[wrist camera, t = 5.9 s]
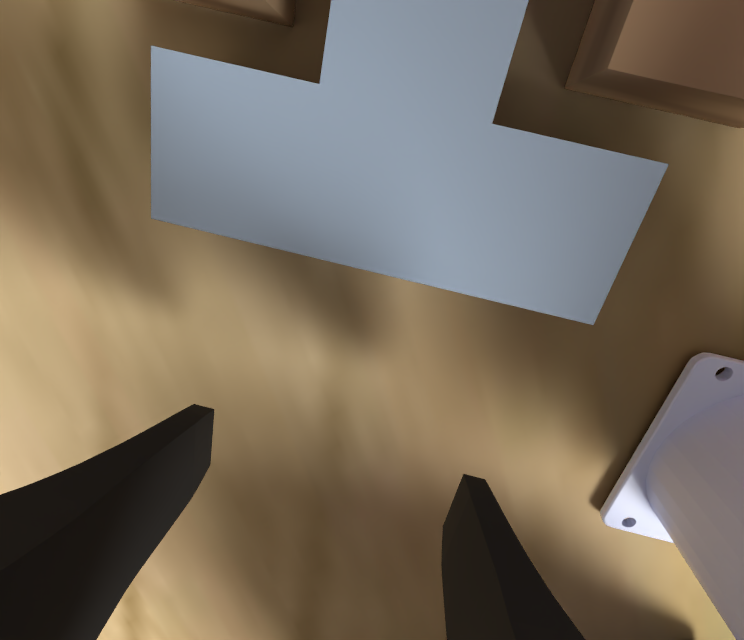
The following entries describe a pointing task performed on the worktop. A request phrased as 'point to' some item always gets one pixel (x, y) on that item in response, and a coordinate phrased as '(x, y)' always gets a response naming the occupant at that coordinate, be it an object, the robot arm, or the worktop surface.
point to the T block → (398, 161)
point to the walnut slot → (631, 52)
